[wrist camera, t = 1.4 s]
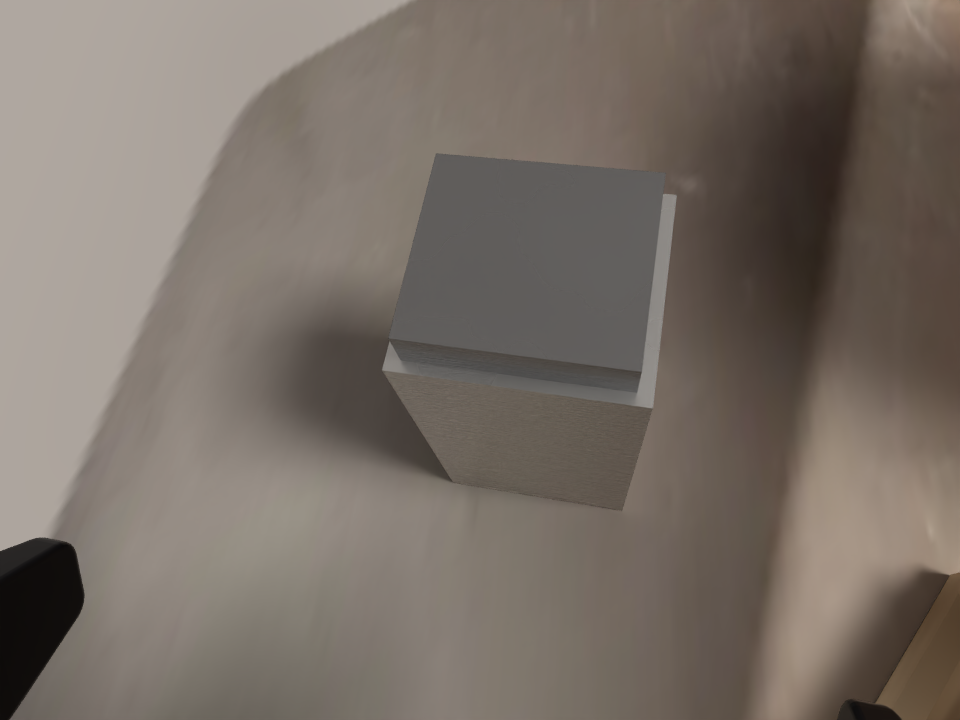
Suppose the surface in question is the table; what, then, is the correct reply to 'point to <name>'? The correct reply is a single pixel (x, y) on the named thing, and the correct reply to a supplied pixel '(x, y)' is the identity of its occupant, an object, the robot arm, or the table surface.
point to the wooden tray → (930, 664)
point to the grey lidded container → (534, 323)
